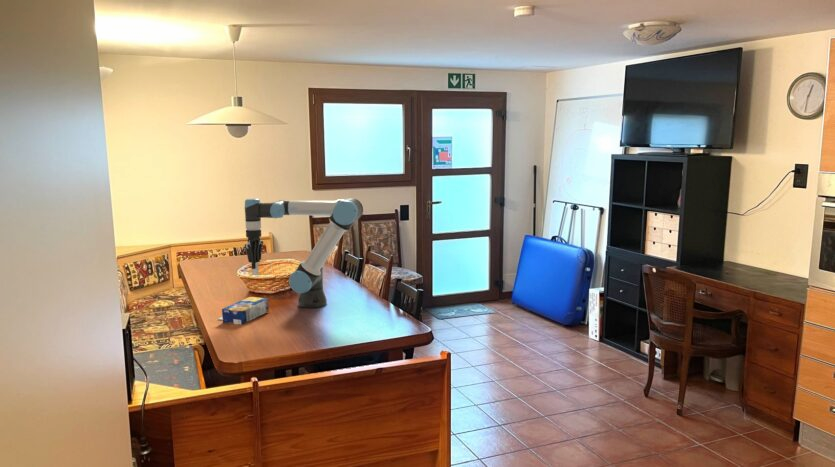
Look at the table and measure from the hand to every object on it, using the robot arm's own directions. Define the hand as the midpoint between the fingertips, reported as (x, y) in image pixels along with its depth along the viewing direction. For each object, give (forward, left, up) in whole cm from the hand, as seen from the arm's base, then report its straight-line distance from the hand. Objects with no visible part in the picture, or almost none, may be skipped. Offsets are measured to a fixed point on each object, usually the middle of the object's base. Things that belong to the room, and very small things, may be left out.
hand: (255, 274), depth 301 cm
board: (0, +11, -18) cm, 21 cm away
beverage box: (-4, +3, -14) cm, 15 cm away
